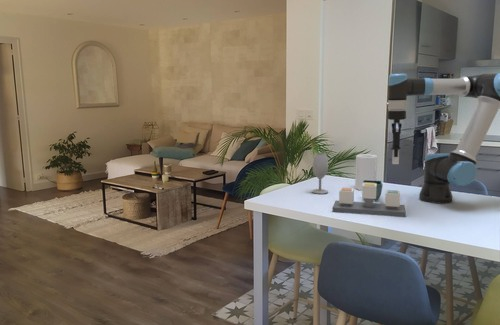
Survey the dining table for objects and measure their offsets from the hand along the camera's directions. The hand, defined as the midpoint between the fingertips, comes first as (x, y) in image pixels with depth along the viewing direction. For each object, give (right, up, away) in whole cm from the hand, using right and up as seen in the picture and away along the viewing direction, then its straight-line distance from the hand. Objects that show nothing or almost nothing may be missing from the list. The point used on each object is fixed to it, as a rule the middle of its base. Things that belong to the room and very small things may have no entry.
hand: (395, 163), depth 189 cm
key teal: (-1, -18, +1) cm, 18 cm away
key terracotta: (-20, -17, +7) cm, 28 cm away
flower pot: (-4, -18, +23) cm, 30 cm away
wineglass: (-27, -16, +40) cm, 50 cm away
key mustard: (-11, -15, +4) cm, 19 cm away
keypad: (-10, -21, +5) cm, 24 cm away
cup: (0, -14, +47) cm, 49 cm away
